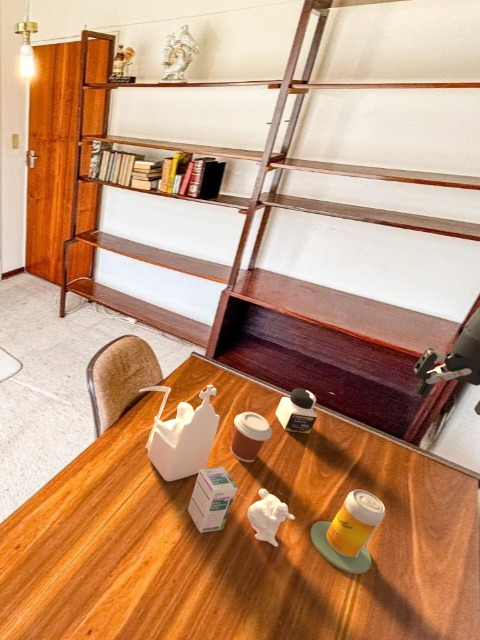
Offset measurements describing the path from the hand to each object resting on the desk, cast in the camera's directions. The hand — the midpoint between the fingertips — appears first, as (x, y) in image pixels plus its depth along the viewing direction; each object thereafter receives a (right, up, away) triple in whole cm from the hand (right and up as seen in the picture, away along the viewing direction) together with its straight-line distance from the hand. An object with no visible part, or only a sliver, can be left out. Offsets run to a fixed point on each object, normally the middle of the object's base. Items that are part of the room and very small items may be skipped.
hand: (449, 404), depth 79 cm
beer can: (-15, -35, +9) cm, 39 cm away
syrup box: (-43, -32, +14) cm, 55 cm away
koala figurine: (-31, -33, +11) cm, 47 cm away
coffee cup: (-24, -24, +32) cm, 47 cm away
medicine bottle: (-3, -20, +43) cm, 47 cm away
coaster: (-15, -35, +9) cm, 39 cm away
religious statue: (-47, -25, +29) cm, 60 cm away
